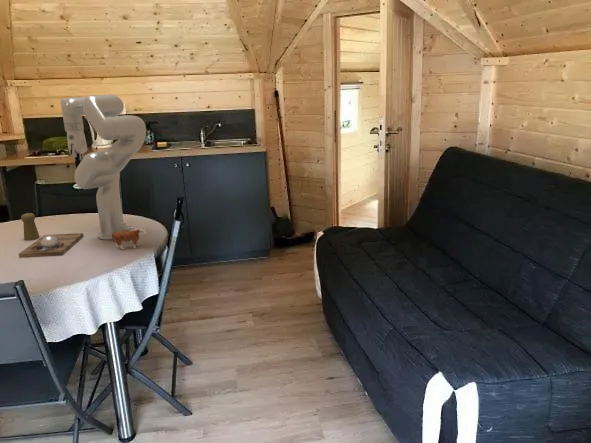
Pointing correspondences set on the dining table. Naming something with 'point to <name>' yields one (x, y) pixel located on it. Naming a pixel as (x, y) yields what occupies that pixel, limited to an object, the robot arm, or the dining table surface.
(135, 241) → the bull figurine
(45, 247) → the ball
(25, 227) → the cork
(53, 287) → the dining table surface
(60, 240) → the board
